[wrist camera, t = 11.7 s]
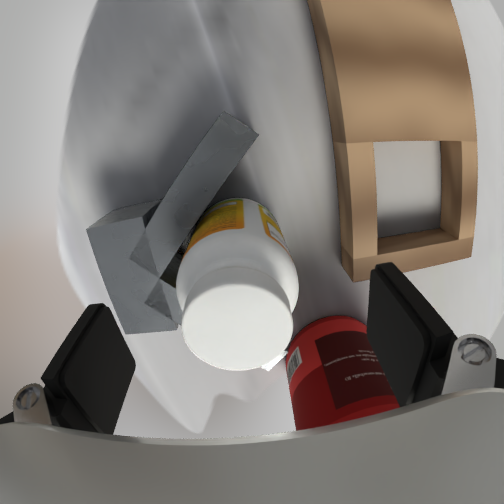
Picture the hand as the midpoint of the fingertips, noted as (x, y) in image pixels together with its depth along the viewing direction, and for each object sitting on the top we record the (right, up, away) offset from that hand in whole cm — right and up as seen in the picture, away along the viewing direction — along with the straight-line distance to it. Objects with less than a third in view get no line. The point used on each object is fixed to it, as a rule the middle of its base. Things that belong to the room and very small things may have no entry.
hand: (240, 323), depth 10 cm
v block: (-3, +3, +9) cm, 10 cm away
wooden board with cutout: (+10, +11, +6) cm, 16 cm away
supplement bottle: (-1, +3, +9) cm, 10 cm away
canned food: (+7, -6, +13) cm, 16 cm away
